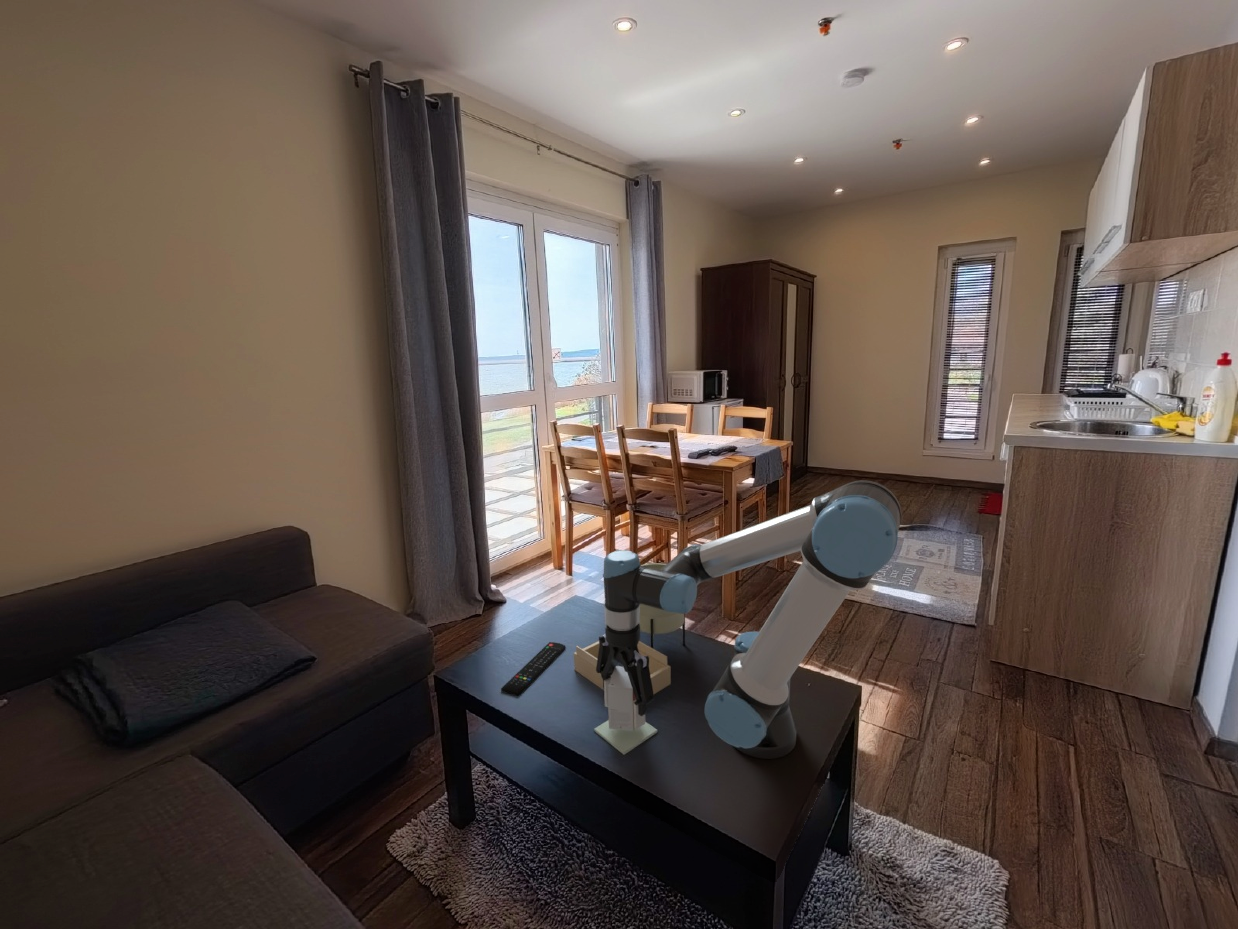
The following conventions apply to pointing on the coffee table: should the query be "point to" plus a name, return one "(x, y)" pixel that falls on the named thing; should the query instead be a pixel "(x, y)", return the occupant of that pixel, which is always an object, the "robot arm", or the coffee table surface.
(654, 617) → the planter
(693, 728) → the coffee table surface
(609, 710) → the small box
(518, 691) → the remote control
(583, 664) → the tray
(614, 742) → the pad
